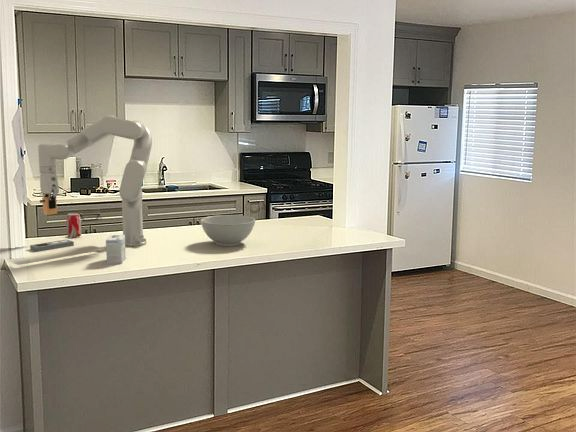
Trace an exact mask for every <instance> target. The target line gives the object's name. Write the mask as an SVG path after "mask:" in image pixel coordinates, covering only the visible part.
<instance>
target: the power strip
mask: <svg viewBox="0 0 576 432" xmlns="http://www.w3.org/2000/svg"><path fill="white" fill-rule="evenodd" d="M74 243H75V242H74V241H73V240H71V239H70V240H69V239H60V240H55V241H49V242H41V243H36V244H31V245H29V249H30V251H32V252H33V251H34V252H37V253H40V252H46V251H50V250H56V249H62V248H69V247H73V246H75V244H74Z"/></svg>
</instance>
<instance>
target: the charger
mask: <svg viewBox="0 0 576 432" xmlns="http://www.w3.org/2000/svg"><path fill="white" fill-rule="evenodd" d="M39 203H42V212H43V215H46V216H49V215H50V216H51V215H56V214H58V205H57V202H56V208H53V209H49V197H43V196H42V199H40V200H39Z"/></svg>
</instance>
